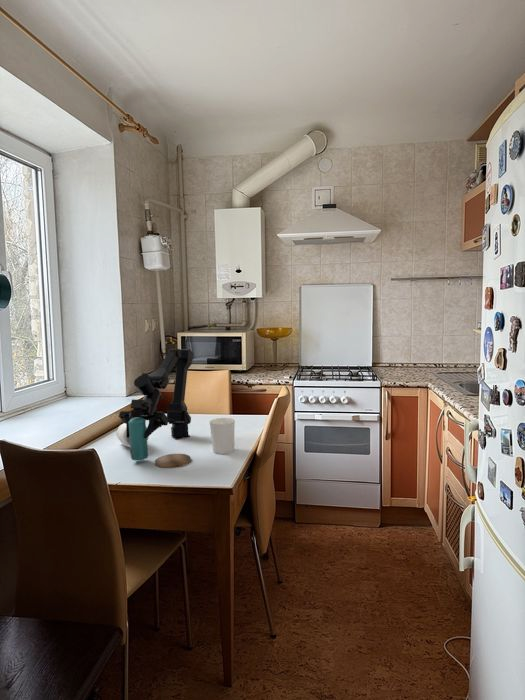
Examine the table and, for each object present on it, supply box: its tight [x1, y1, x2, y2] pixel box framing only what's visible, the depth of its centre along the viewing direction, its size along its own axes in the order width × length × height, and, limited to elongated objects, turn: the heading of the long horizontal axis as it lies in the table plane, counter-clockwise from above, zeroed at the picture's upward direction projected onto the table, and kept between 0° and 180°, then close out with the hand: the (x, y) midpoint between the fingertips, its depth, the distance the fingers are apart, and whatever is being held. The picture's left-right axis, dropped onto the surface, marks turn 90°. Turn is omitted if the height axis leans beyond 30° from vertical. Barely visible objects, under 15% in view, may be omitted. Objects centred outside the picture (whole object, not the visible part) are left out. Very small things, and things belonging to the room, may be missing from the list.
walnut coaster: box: [154, 453, 192, 469], centre depth 173 cm, size 13×13×1 cm
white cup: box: [209, 417, 236, 455], centre depth 184 cm, size 10×10×12 cm
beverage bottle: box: [128, 408, 150, 462], centre depth 174 cm, size 6×7×20 cm
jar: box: [116, 422, 150, 448], centre depth 195 cm, size 11×10×15 cm
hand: (136, 437), depth 173 cm, fingers open, 7 cm apart
